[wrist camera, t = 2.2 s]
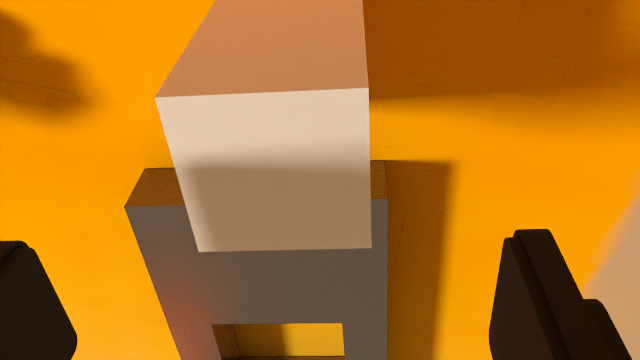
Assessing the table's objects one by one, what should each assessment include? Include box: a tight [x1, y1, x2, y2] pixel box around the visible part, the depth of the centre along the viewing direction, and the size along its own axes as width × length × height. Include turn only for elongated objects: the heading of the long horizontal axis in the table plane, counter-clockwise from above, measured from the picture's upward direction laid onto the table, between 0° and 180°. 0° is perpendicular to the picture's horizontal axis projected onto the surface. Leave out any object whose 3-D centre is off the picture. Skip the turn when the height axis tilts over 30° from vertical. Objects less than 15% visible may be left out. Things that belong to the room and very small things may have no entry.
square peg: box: [155, 0, 372, 252], centre depth 16 cm, size 4×4×8 cm
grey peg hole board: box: [124, 161, 388, 360], centre depth 27 cm, size 20×10×2 cm, turn 4°
